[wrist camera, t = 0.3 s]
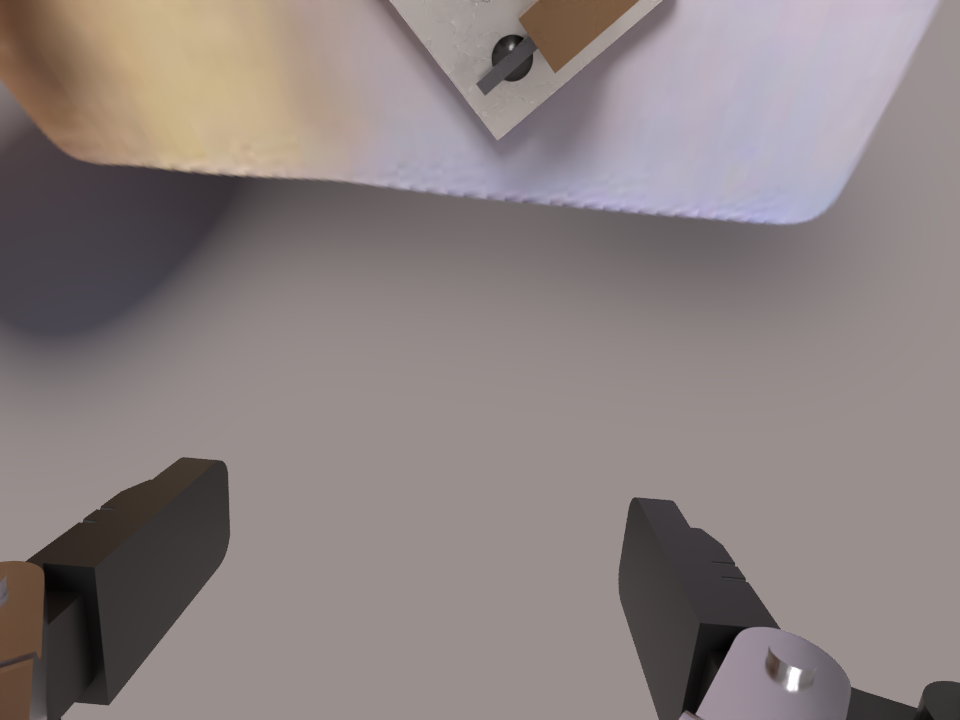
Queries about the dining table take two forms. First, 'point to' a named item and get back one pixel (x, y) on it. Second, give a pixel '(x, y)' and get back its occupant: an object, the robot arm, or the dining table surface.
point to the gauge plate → (516, 47)
